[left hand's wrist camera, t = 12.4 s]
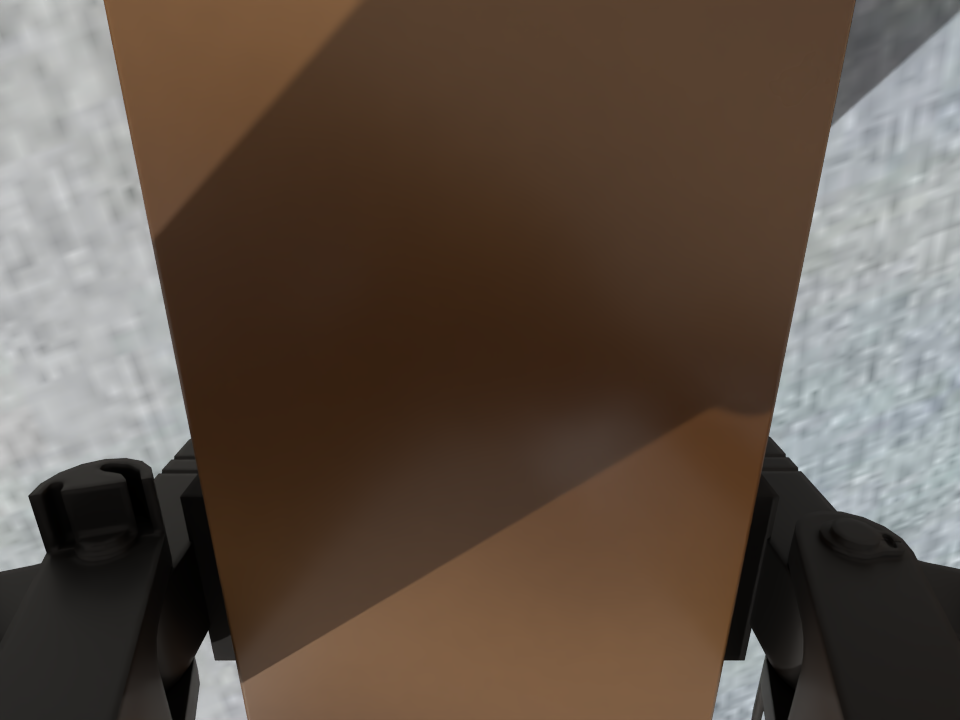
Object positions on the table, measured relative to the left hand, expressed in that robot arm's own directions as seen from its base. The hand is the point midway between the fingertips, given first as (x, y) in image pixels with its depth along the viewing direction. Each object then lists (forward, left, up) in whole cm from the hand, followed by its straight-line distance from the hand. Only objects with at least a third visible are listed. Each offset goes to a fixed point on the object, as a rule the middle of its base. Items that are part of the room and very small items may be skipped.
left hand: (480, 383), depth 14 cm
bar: (+11, +9, -1) cm, 14 cm away
